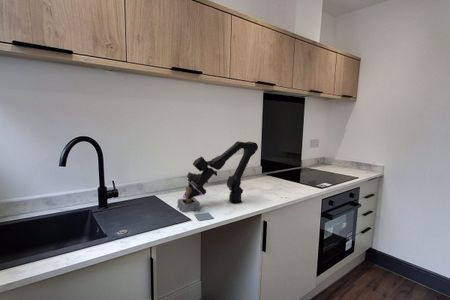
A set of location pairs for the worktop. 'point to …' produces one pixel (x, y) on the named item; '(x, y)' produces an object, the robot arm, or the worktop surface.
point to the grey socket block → (188, 205)
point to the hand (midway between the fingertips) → (186, 197)
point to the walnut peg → (188, 191)
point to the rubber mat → (204, 216)
